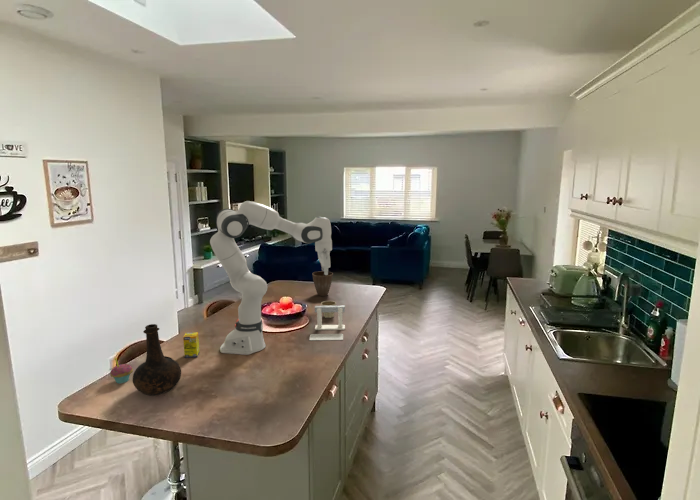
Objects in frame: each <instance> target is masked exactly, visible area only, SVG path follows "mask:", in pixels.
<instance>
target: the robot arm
mask: <svg viewBox="0 0 700 500" xmlns="http://www.w3.org/2000/svg"><path fill="white" fill-rule="evenodd" d="M215 223H216V231H217V232H215V233H214V234H213V235H212V236H211V238H210V240H209V245H210V246H211V249H212V251H213V254H214V256H215V257H216V259H217V260H218V261H219V263H220V265H221V266H222V268H223V269H224V271H225V273H226V274H227V276H228V279H229V283H230V285H231V287H232V288H233V290H235V291H236V292H238V293H240V294H241V302H240V304H239V305H238V307H237V311H238V312H237V313H238V319H236V321H235V323H234V329H233V330H232V331H230V332H229V333H228V334H227V335H226V336H225V339H224V342H223V343H222V344H221V346H220V347H219V352H220V353H222V354H232V355H243V356H244V355H245V356H249V355H251V354H254V353H256V352H260V351H262V350H264V349H265V348H266V343H265V340H264V335H263V329H264V326H263V319H262V300H263V297H264V295H266V293H267V291H268V284H267V281H266V280H265V279H264V278H262V277H261V276H260V275H257V274H254V273H252V272H251V271H250V270H249V267H248V264H247V261H248V260H247V259H246V257H245V255H244V253H243V252H242V250H241V249H240V247H239V246H238V244H237V242H236V241H235V239H237V238H240V237H241V236H242V235H243V234H244V233H245V231H246V230H247V229H248V227H249V226H254V227H257V228H260V229H263V230H268V231H273V230H278V231H281V232H284V233H286V234H288V235H289V236H290V237H292V239H294V240H295V241H297V242H302V243H305V244H312V243H313V244H314V246H315V247H314V248H315V249H314V250H315V252H317V259H318V261H319V263H320V266H321V271H324V274H325V275H328V272H329V268H331V256H330V253H331V251H332V250H333V240H332V225H331V220H330V219H329V218H328V217H324V216H315V218H314V219H312V220H311V221H310V222H308V223H305V222H302V221H299V222H293V221H291V220H288V219H286V218H283V217H281V216H280V214H279V212H278V211H277V210H275V209H274V208H272V207H270V206H268V205H266V204H263V203H259V202H256V201H252V200H251V201H250V200H246V201H243V202H242V203H241V204H240V206H239V208H238V210H234V209H232V208H222V209H221V210H219V212H217V215H216V219H215Z"/></svg>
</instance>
